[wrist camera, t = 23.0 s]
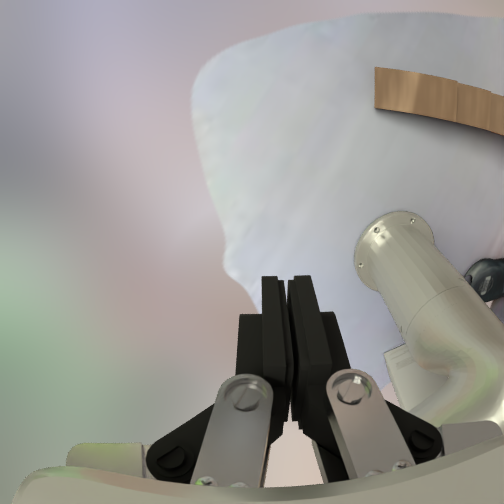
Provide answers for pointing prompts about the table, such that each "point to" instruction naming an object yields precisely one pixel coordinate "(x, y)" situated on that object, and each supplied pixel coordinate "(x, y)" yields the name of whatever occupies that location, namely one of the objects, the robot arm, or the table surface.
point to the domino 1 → (415, 93)
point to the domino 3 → (497, 114)
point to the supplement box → (410, 378)
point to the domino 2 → (473, 106)
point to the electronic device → (488, 278)
